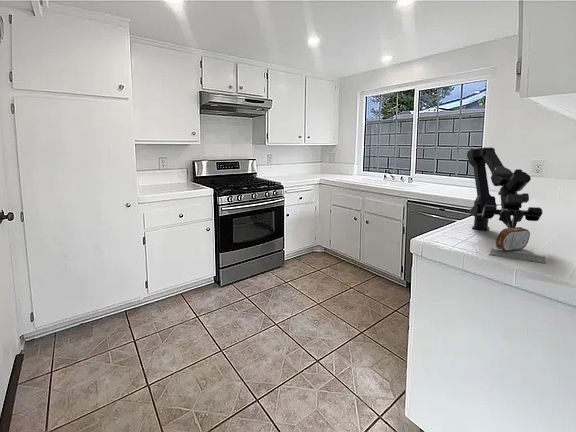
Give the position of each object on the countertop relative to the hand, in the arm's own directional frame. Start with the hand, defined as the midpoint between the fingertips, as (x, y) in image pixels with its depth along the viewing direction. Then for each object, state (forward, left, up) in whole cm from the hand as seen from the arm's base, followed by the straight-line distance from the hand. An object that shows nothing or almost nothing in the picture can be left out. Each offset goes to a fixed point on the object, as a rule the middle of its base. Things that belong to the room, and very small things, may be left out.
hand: (512, 231), depth 122 cm
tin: (+2, 0, -7) cm, 7 cm away
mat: (+8, +2, -7) cm, 11 cm away
